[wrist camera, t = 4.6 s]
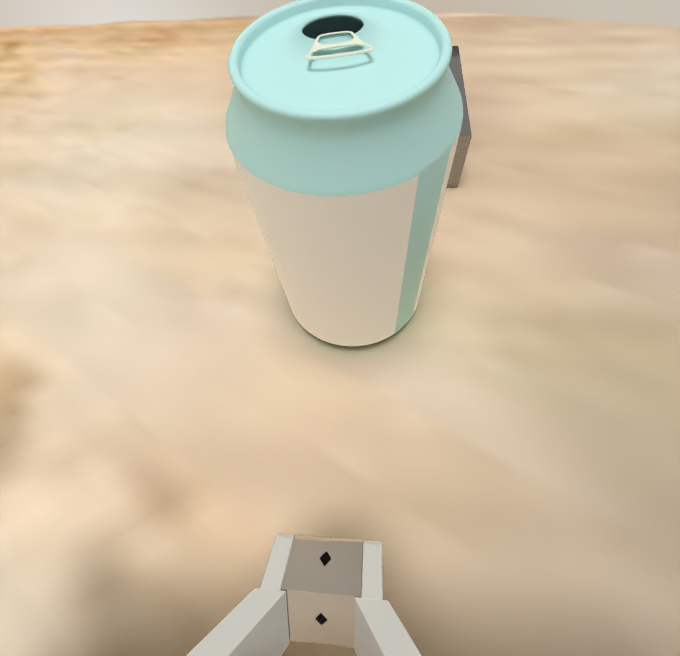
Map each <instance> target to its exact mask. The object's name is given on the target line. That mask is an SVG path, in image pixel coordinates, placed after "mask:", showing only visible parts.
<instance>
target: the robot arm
mask: <svg viewBox="0 0 680 656" xmlns="http://www.w3.org/2000/svg"><path fill="white" fill-rule="evenodd" d="M289 641H293V642H307V643H321V644H328V645H335V646H343V647H350V648H354V651H355V653H356V656H422V655H421V654H420V652H419V650H418V649H417V647H416V645H415V644H414V642H413V640H412V639H411V637H410V635H409V634H408V632H407V631H406V629H405V627H404V626H403V624H402V622H401V621H400V619H399V617H398V616H397V614H396V612H395V611H394V609H393V607H392V606H391V604H390V602H389V601H388V600H383V575H382V543H381V541H372V540H364V541H363V540H362V539H347V538H332V537H329V538H325V537H316V536H306V535H297V534H285V533H278V534H277V536H276V538H275V540H274V544H273V547H272V550H271V553H270V557H269V560H268V563H267V566H266V570H265V573H264V576H263V579H262V583H261V586H260V588H254V589H253V590H252V591H251V592H250V593H249V594H248V595H247V596H246V597H245V598H244V599H243V600H242V601H241V602H240V603H239V604H238V605H237V606H236V607H235V608H234V609H233V610H232V611H231V612H230V613H229V614H228V615H227V616H226V617H225V618H224V619H223V620H222V621H221V622H220V623H219V624H218V625H217V626H216V627H215V628H214V629H213V630H212V631H211V632H210V633H208V634H207V635H206V636H205V637H204V638H203V639H202V640H201V641H200V642H199V643H198V644H197V645H196V646H195V647H194V648H193V649H192V650H191V651H190V652H189V653H188V654H187V655H186V656H282V654H283V653H284V651H285V650H286V648H287V647H288V645H289V644H290V642H289Z"/></svg>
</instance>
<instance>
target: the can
mask: <svg viewBox="0 0 680 656" xmlns="http://www.w3.org/2000/svg"><path fill="white" fill-rule="evenodd" d="M451 54H452V40H451V37H450V34H449V32H448V30H447V28H446V27H445V25H444V24H443V23H442V22H441V20H440V19H439V18H438V17H437V16H436V15H435V14H433V13H432V12H431V11H429V10H428V9H426V8H425V7H423V6H421V5H419V4H417V3H415V2H412V1H410V0H297V1H294V2H291V3H288V4H285V5H283V6H280V7H278V8H276V9H274V10H272V11H270V12H268V13H266V14H265V15H263V16H261V17H260V18H258V19H257V20H255V21H254V22H253V23H252V24H250V25H249V26H248V27H247V28H246V29H245V30H244V31H243V32H242V33H241V34H240V36H239V37H238V38H237V40H236V42H235V43H234V45H233V47H232V49H231V52H230V55H229V59H228V70H229V75H230V78H231V80H232V83H233V85H234V88H233V91H232V95H231V98H230V102H229V106H228V109H227V113H226V136H227V141H228V144H229V147H230V149H231V152H232V155H233V157H234V160H235V163H236V165H237V168H238V170H239V173H240V176H241V178H242V181H243V184H244V186H245V189H246V192H247V194H248V197H249V199H250V202H251V205H252V207H253V210H254V213H255V215H256V218H257V221H258V223H259V226H260V228H261V231H262V234H263V236H264V239H265V242H266V244H267V247H268V250H269V252H270V255H271V257H272V260H273V263H274V265H275V268H276V271H277V273H278V276H279V279H280V281H281V284H282V286H283V289H284V292H285V294H286V297H287V300H288V302H289V305H290V308H291V310H292V312H293V314H294V316H295V318H296V319H297V321H298V322H299V323H300V324H301V326H302V327H303V328H304V329H306V330H307V331H308V332H309V333H311V334H312V335H314V336H315V337H317V338H319V339H321V340H323V341H326V342H329V343H332V344H336V345H341V346H363V345H369V344H373V343H376V342H379V341H382V340H384V339H386V338H388V337H390V336H392V335H393V334H395V333H396V332H397V331H399V330H400V329H401V328H402V327H403V326H404V325H405V324H406V323H407V322H408V321H409V320H410V318H411V317H412V315H413V314H414V312H415V310H416V308H417V305H418V302H419V298H420V294H421V290H422V286H423V282H424V278H425V274H426V269H427V265H428V261H429V257H430V253H431V249H432V245H433V241H434V237H435V233H436V228H437V224H438V220H439V216H440V212H441V208H442V204H443V200H444V196H445V192H446V188H447V183H448V179H449V175H450V171H451V167H452V163H453V159H454V155H455V151H456V147H457V142H458V138H459V134H460V130H461V126H462V120H463V103H462V97H461V94H460V91H459V88H458V86H457V83H456V81H455V79H454V77H453V74H452V72H451V70H450V67H449V63H450V60H451Z"/></svg>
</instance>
